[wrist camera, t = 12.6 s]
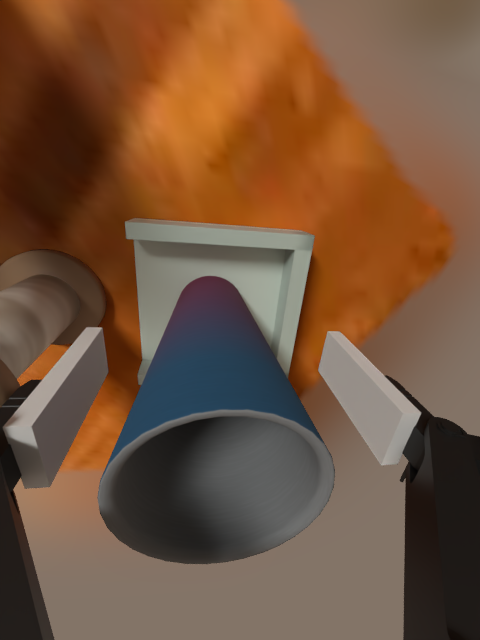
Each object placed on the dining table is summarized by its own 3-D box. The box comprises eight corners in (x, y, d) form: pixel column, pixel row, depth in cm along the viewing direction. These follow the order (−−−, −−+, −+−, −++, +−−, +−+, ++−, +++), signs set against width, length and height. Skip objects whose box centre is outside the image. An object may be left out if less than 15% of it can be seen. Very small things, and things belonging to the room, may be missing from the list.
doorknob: (15, 338, 21) (-174, 487, 10) (-11, 246, 18) (-308, 321, 8) (111, 338, 22) (29, 475, 12) (100, 252, 20) (-22, 326, 9)
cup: (155, 330, 22) (75, 556, 8) (182, 249, 19) (132, 380, 6) (234, 353, 24) (275, 571, 10) (267, 282, 21) (380, 440, 8)
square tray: (144, 364, 24) (138, 384, 21) (134, 217, 19) (124, 221, 16) (278, 363, 26) (287, 382, 23) (300, 230, 21) (314, 235, 18)
